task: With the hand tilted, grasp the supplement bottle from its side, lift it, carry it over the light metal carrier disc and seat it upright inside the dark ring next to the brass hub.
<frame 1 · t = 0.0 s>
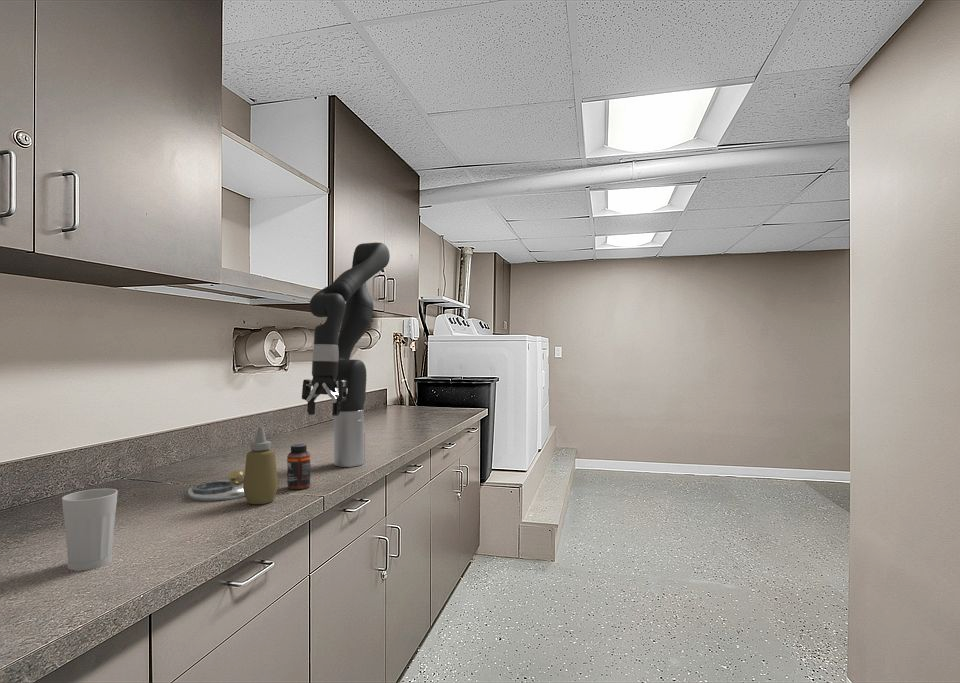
hand: (323, 415, 164), 17 cm above the worktop, tool pointing down, fingers open, 8 cm apart
squeeze bottle: (260, 502, 135), on the worktop
carrier disc: (223, 492, 143), on the worktop
cup: (90, 564, 97), on the worktop
supplement bottle: (299, 488, 148), on the worktop
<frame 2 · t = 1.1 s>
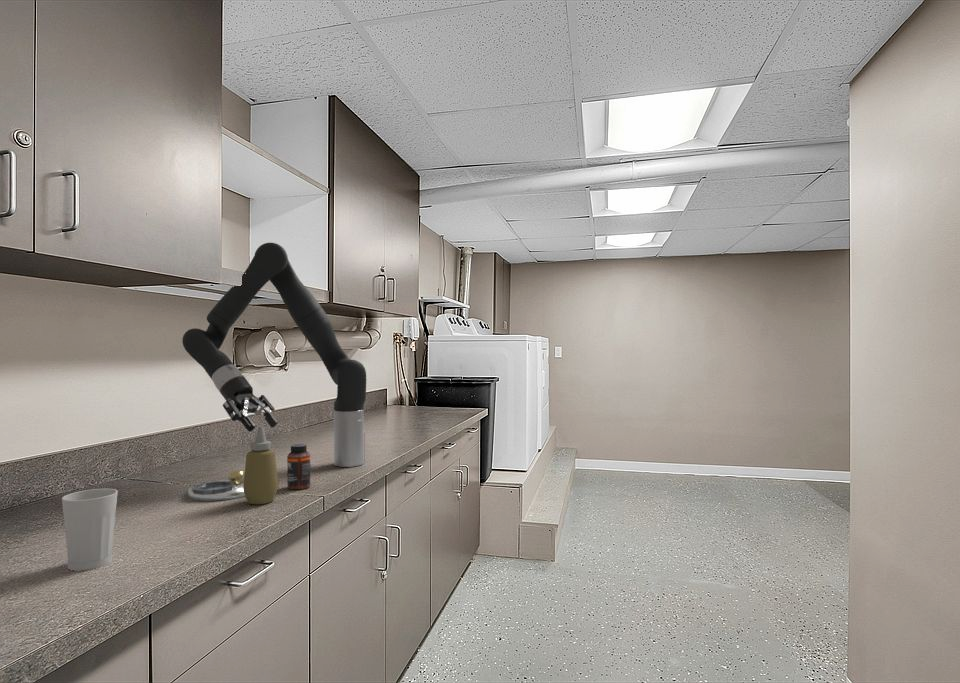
hand: (264, 427, 152), 15 cm above the worktop, tool tilted 45°, fingers open, 8 cm apart
nothing on the worktop moved.
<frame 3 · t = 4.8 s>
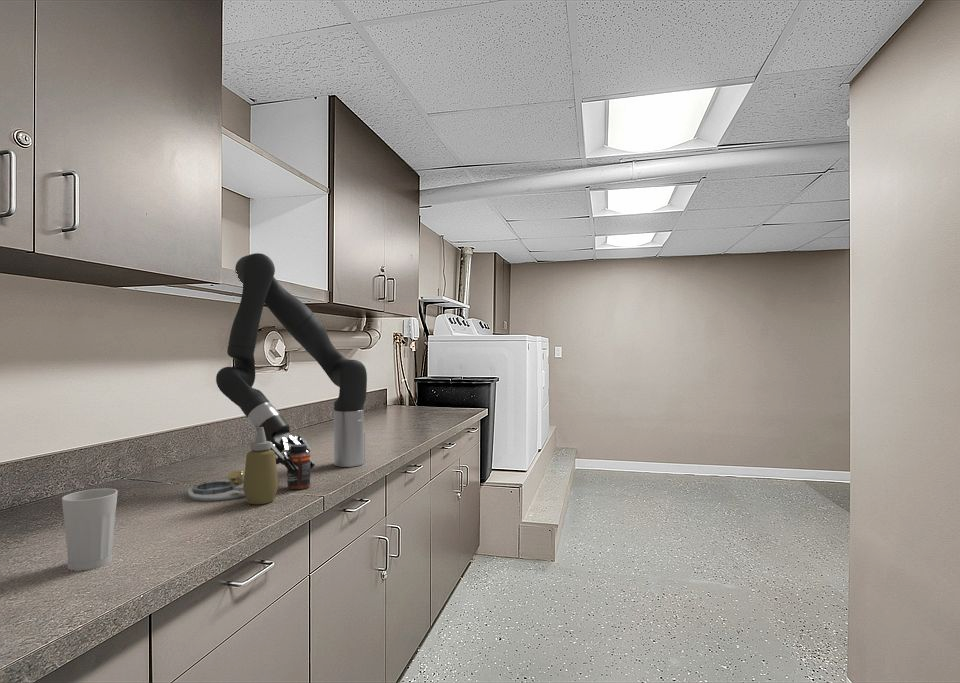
hand: (304, 469, 148), 5 cm above the worktop, tool tilted 45°, fingers closed on supplement bottle, 6 cm apart
supplement bottle: (299, 488, 148), on the worktop, touching gripper
everything else where it was.
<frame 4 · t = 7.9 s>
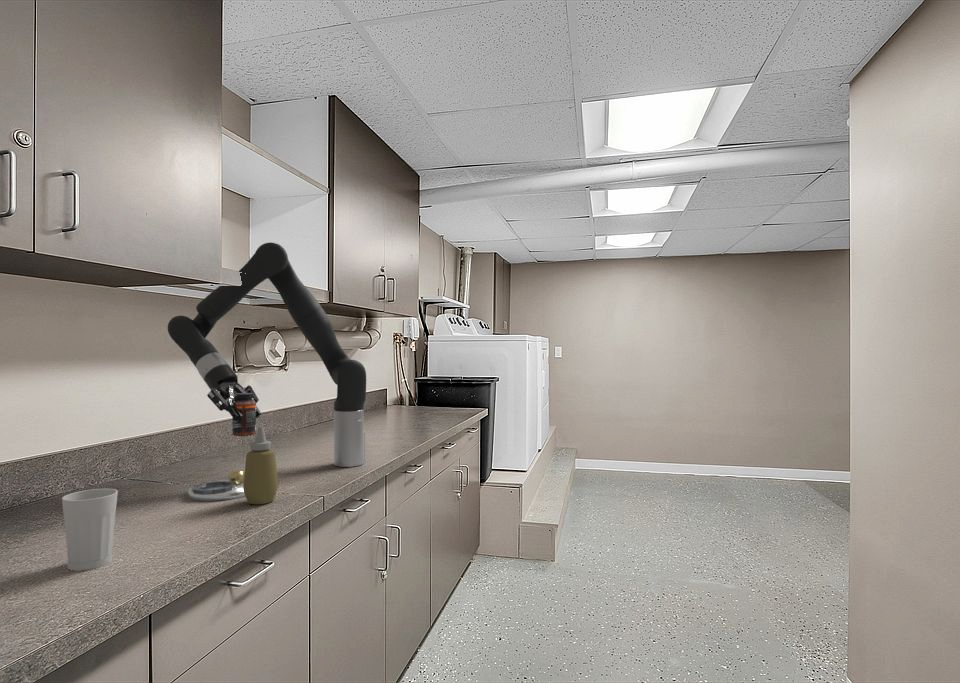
hand: (249, 417, 150), 18 cm above the worktop, tool tilted 45°, fingers closed on supplement bottle, 6 cm apart
supplement bottle: (244, 435, 151), point 13 cm above the worktop, touching gripper
everything else where it was.
when the fingers open (8 cm above the worktop, at t = 11.0 s): supplement bottle drops 2 cm, resting on carrier disc.
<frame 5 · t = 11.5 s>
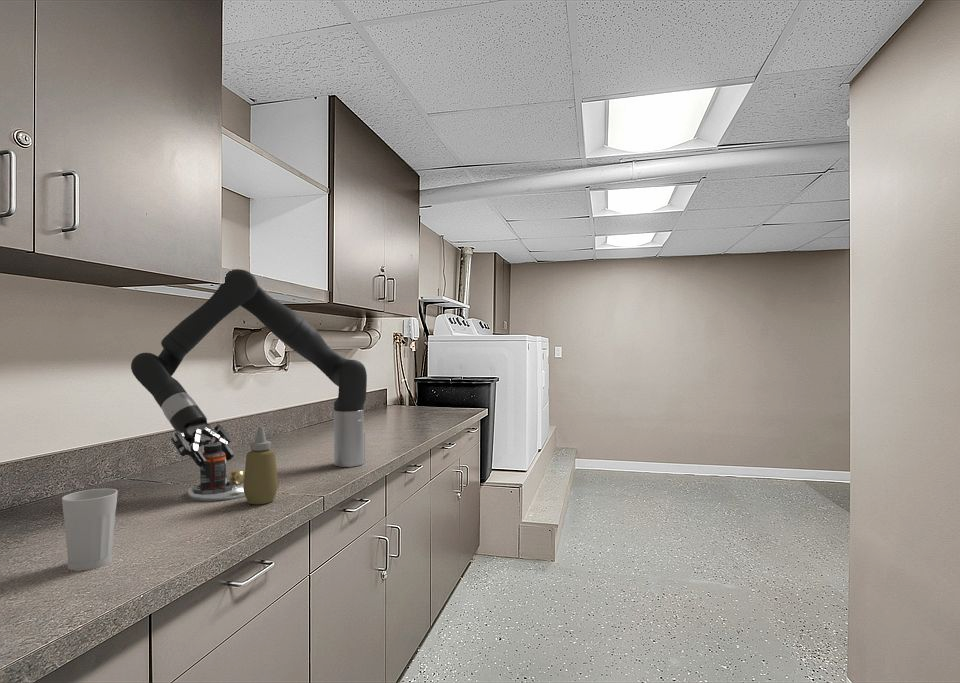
hand: (217, 461, 140), 9 cm above the worktop, tool tilted 45°, fingers open, 8 cm apart
supplement bottle: (213, 489, 141), point 1 cm above the worktop, touching carrier disc
everything else where it was.
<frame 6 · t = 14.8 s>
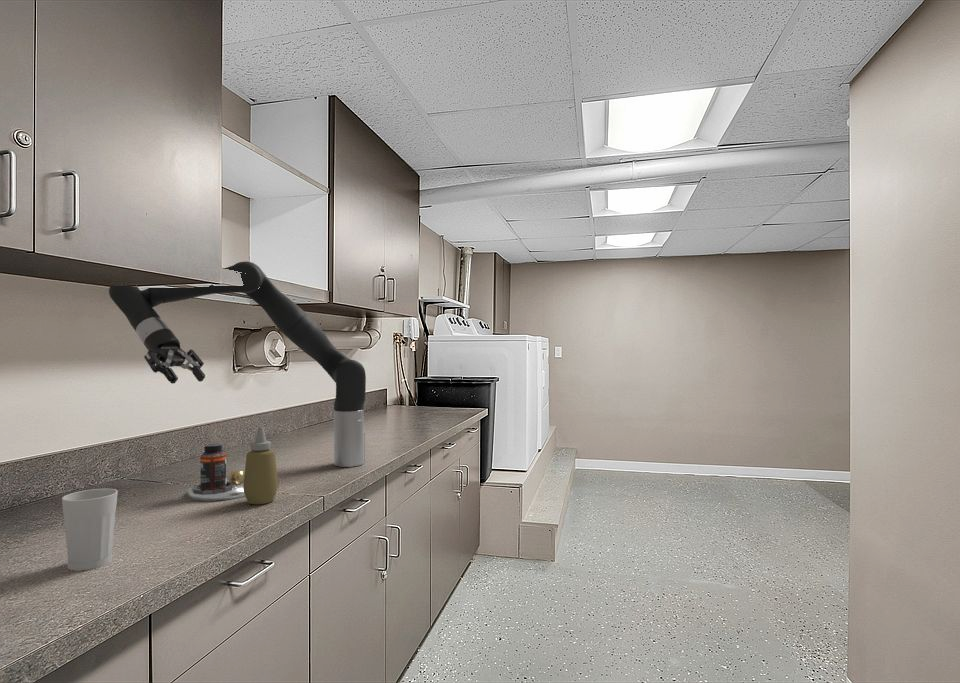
hand: (189, 380, 148), 29 cm above the worktop, tool tilted 45°, fingers open, 8 cm apart
nothing on the worktop moved.
at the end: supplement bottle 0.4 cm from the target spot on the carrier disc, point 1.3 cm above the carrier disc's base; supplement bottle tilted 0°; the gripper is holding nothing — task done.
